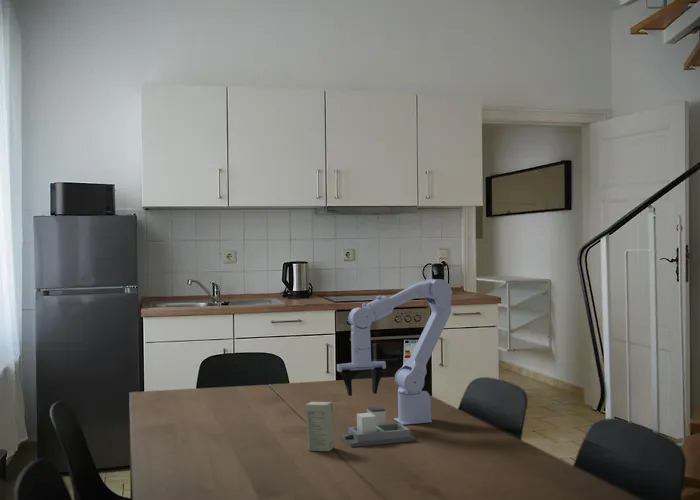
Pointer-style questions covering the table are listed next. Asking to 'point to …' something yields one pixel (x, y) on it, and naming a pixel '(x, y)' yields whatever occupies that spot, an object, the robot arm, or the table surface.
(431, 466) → the table surface
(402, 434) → the socket board
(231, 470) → the table surface
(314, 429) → the skincare box
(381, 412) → the plug
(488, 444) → the table surface
